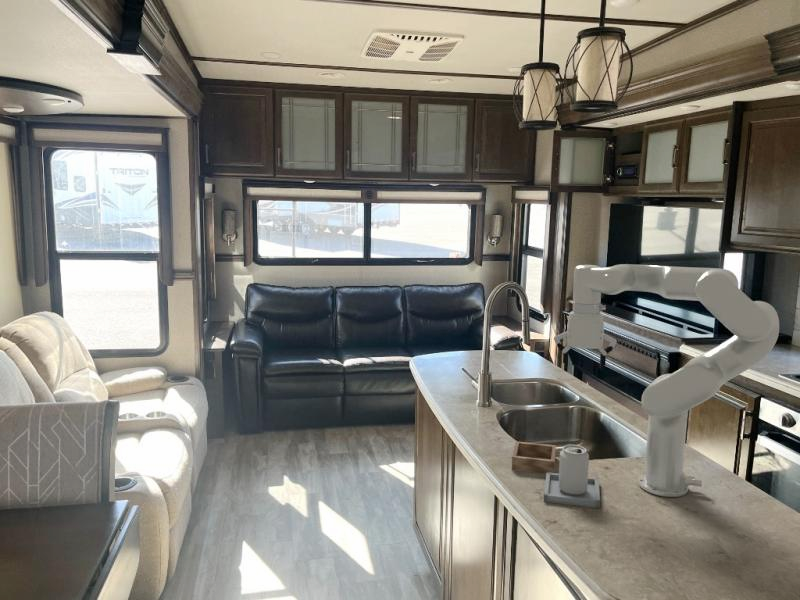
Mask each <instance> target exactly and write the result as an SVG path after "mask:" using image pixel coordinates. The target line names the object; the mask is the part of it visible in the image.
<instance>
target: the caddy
mask: <svg viewBox="0 0 800 600" xmlns="http://www.w3.org/2000/svg"><path fill="white" fill-rule="evenodd" d="M556 451H557V445H556V444H555V445H553V444H545V443H544V444H543V443H536V442H535V443H534V442H523V441H516V442H515V445H514V448H513V452H512V455H511V456H512V457H511V471H519V472H528V473H535V474H545V475H546V473H547V472H548V473H555V466H556V456H557V455H556V453H557V452H556Z"/></svg>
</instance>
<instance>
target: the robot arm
mask: <svg viewBox="0 0 800 600" xmlns="http://www.w3.org/2000/svg"><path fill="white" fill-rule="evenodd" d="M737 277H738V276H736V275H735V273H734V272H732V271H730V270H729V269H725V268H720V267H719V268H715V267H693V266H692V267H690V266H671V265H670V266H669V265H652V264H649V265H648V264H629V263H625V264H624V263H623V264H622V263H621V264H615V265H613V266H607V267H600V266H599V265H594V264H580V265H579V264H578V265H576V266H575V267H574V271H573V290H572V291H573V293H572V311H570V312H569V314H568V320H567V329H566V331H564V332H562V333H559V334H556V335H555V336H554V337H553V340H554V342H555V344H556V347H557V348H558V349H559V350H560V351H561V352H562V364H565V368H568V367H569V350H571V348H575V349H576V348H577V349H592V350H598V351H599V352H600V354H599V355H600V356H599V369H600V370H603V368H604V367H606V359H607V357H606V356H607V355H608V354H610V353H611V351H613V349H614V348H615V346H616V344H617V343H618V341H617V339H615V338H614V337H611V336H610V335H608V334H606V333H605V332H604V331H605V325H604V315H603V313H602V311H606V309H607V307H606V304H605V305H603V304H602V303H601V302H602V301H601V299H602V294H605V295H611V296H612V295H618V294H621V293H622V292H626V291H633V292H647V293H652V294H658V295H659V296H661V297H663V298H664V299H668V300H680V301H682V300H683V301H698V302H700V303H701V304H702V305H703V307H705V308H706V310H707V311H709V312H710V313H711V314H712V316H714V318H716V319H717V320H718V321H719V322H720V323H721V324H722V325H723V326H724V327H725V328H726V329H728V331H730V332H731V333H732V334H733V336H731V337H730V338H728V339H727V340H724V341H722V342H721V344H718V345H717V346H715V347H714V348H712V349H710V350H708V351H706V352H705V353H702V354H700V355H698V356H695V357H694V358H692V359H690V360H689V361H687V363H685V364H684V366H682V367H680V368H678V370H675V371H674V372H672V373H665V374H661V375H660V376H658V377H656V378H655V379H654V380H653V381H652V382H651V383H650V384H649V385H648V386H647V387H646V388H645V389H644V391H643V393H642V395H641V406H642V409H643V411H644V412H645V413H646V414H647V415H648V418H647V419H648V420H647V433H646V447H645V448H646V450H645V451H646V452H645V465H644V473H643V474H642V475H640V476H638V480H637V483H638V486H639V487H640V488H642V489H643V491H646V492H647V493H650V494H653V495H656V496H661V497H664V498H665V497H668V498H676V497H677V498H678V497H683V496H684V495H686V494H688V491H689V486H694V487H700V488H701V487H702V484H703V481H702V479H701V478H696V476H695V475H689V474H688V475H686V474H685V473H684V463H685V461H684V460H685V450H686V449H685V447H686V437H687V436H686V435H687V424H688V417H689V410H691V409H693V408H695V407H697V406H699V405H701V404H703V403H704V402H706V401H708V400H709V399H711V398H712V397H714V396H715V395H716V394H717V393H718V392H719V391H720V389H721V388H722V386H723V385H724V384H725V383H727V382H729V381H731V380H732V379H734V378H735V377H737V376H739V375H741V374H743V373H745V372H746V371H747V370H750V369H751V368H753V367H755V366H756V365H758V364H759V363H760V362H762V361H763V360H764V359H765V358H766V357H767V356H769V355H770V353H771V351H772V350H773V349H774V346H775V344H776V343H777V340H778V338H779V333H780V319H779V316H778V311H776V309H775V307H774V306H773V305H772V304H770V303H768V302H766V301H762V300H755V301H754V300H752V299H751V298H750V297H749V296H748V295H747V294H746V293H744V292H743V291H742V290H741V289H740V288H739V280H738V278H737ZM562 339H566V344H565V345H563V344H562V342H561V340H562ZM604 340H606V341H607V342H609V345H608V346H607V347H604V342H605V341H604Z"/></svg>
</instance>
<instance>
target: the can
mask: <svg viewBox="0 0 800 600" xmlns="http://www.w3.org/2000/svg"><path fill="white" fill-rule="evenodd" d="M589 460H590V455H589V453H588V451H587V448H585V447H584V446H582V445H578V444H566V445H564V446H563V447H562V450H561V451H560V452H559V466H558V467H559V469H558V474H559V488H560V489H561V490H562V491H563V492H564V493H566V494H568V495H573V496H578V495H582V494H583V493H585V492H586V491H587V487H588V477H589V467H590V466H589V463H590V461H589Z"/></svg>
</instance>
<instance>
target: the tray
mask: <svg viewBox="0 0 800 600" xmlns="http://www.w3.org/2000/svg"><path fill="white" fill-rule="evenodd" d="M544 483H545V484H544V491H543V502H544V503H545V502H546V503H554V504H562V505H571V506H578V507H584V508H585V507H586V508H594V509H595V508H596V509H600V507H601V496H600V494H601V493H600V484H599V483H600V481H599V478H598V477H591V476H588V487H587V491H586V492H585V493H583V494H582V495H578V496H573V495H568V494H566V493H564V492H563V491H562V490H561V489H560V488H559V473H555V472H554V473H548V472H547V473H546V474H545V482H544Z"/></svg>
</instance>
